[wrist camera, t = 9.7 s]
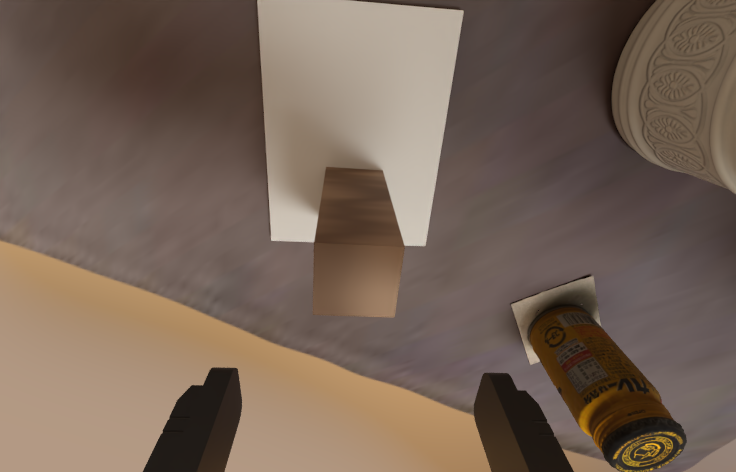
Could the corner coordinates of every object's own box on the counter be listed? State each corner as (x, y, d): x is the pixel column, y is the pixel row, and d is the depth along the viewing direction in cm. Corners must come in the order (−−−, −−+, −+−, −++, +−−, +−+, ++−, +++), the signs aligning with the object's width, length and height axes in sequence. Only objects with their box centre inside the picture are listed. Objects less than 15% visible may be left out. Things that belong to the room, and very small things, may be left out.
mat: (460, 11, 22) (463, 10, 22) (423, 242, 30) (425, 246, 29) (258, -7, 21) (256, -8, 21) (272, 236, 29) (271, 240, 28)
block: (382, 170, 26) (404, 247, 16) (377, 221, 28) (394, 317, 18) (326, 166, 26) (314, 242, 16) (324, 218, 28) (312, 314, 18)
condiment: (529, 363, 37) (603, 492, 26) (510, 303, 33) (586, 425, 23) (602, 338, 36) (709, 462, 25) (590, 273, 32) (711, 387, 22)
